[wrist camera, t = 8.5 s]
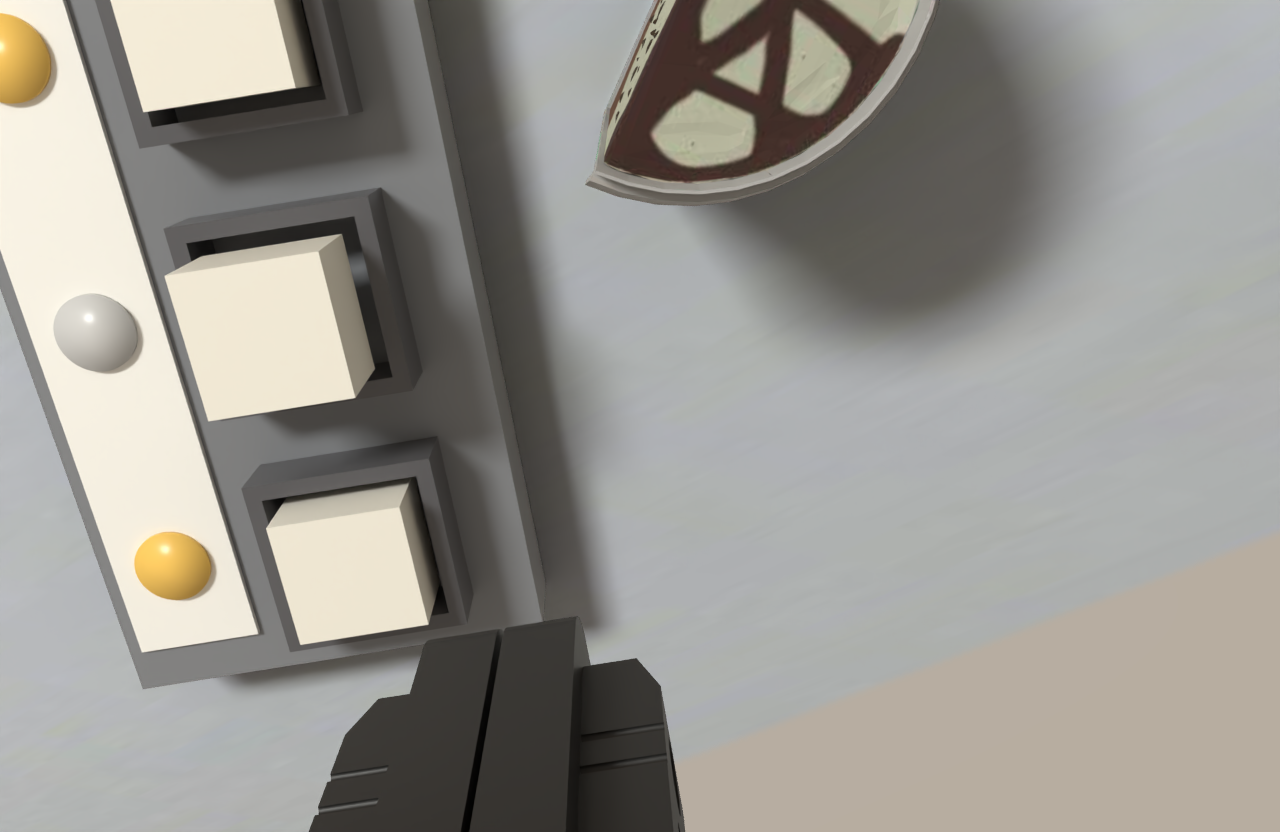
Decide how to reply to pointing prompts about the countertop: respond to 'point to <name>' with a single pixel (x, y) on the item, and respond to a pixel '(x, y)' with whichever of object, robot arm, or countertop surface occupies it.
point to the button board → (157, 356)
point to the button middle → (272, 327)
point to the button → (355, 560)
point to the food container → (750, 93)
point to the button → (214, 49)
